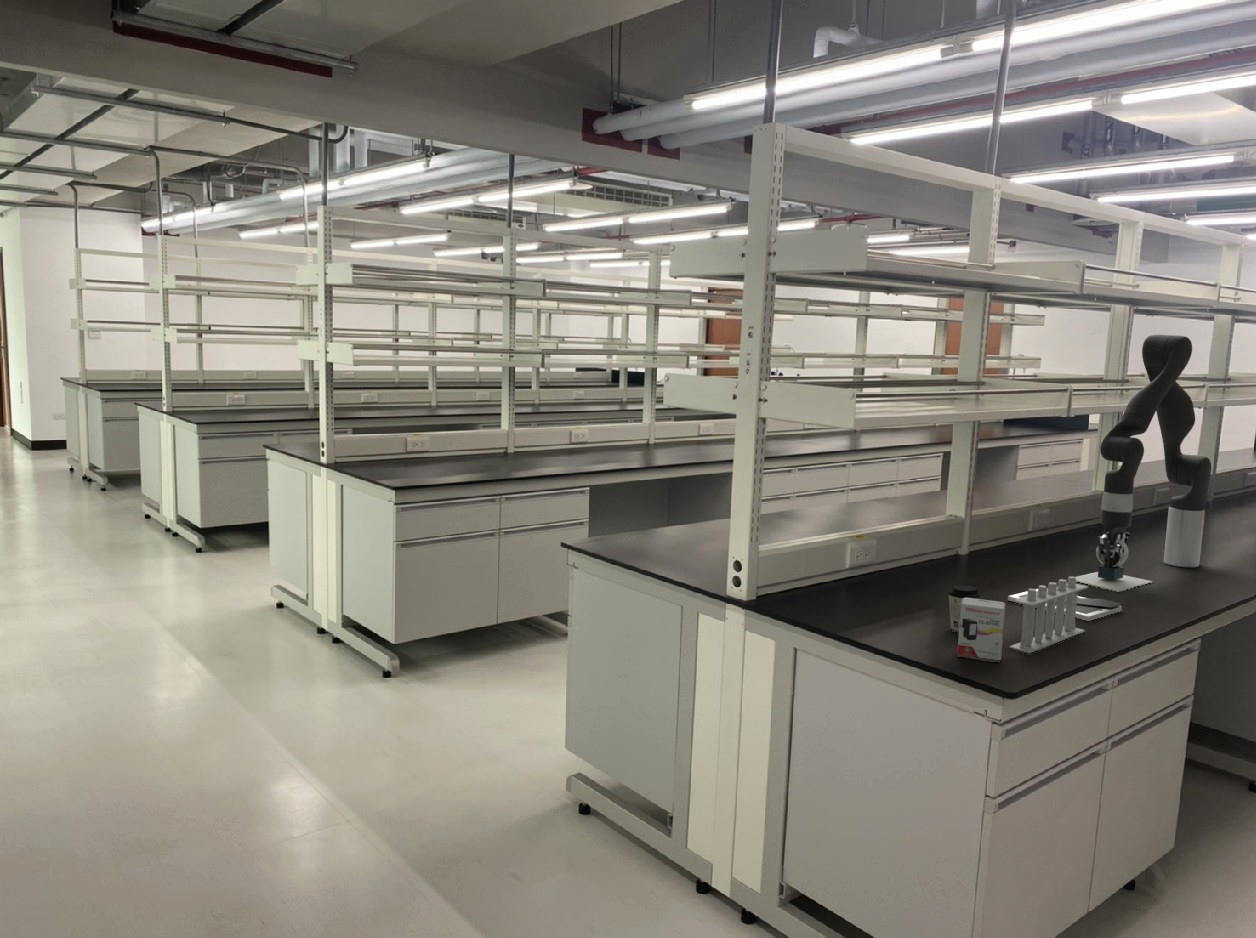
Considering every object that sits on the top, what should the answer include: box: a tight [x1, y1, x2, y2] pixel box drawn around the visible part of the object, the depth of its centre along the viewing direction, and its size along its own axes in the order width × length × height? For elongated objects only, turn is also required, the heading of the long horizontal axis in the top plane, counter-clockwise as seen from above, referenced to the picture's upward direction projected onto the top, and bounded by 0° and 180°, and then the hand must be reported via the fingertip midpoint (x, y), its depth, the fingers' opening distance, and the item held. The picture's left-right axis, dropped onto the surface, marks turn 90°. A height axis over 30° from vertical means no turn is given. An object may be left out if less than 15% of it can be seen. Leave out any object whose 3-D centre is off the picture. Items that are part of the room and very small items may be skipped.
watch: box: [1095, 540, 1129, 580], centre depth 250 cm, size 6×8×11 cm
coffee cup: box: [947, 584, 981, 631], centre depth 204 cm, size 7×7×10 cm
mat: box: [1075, 571, 1154, 593], centre depth 251 cm, size 18×14×1 cm
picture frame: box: [1007, 588, 1123, 622], centre depth 226 cm, size 16×3×21 cm
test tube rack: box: [1009, 576, 1089, 653], centre depth 198 cm, size 25×4×13 cm, turn 128°
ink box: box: [956, 598, 1006, 661], centre depth 187 cm, size 9×5×12 cm, turn 66°
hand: (1111, 569), depth 250 cm, fingers closed on watch, 3 cm apart
